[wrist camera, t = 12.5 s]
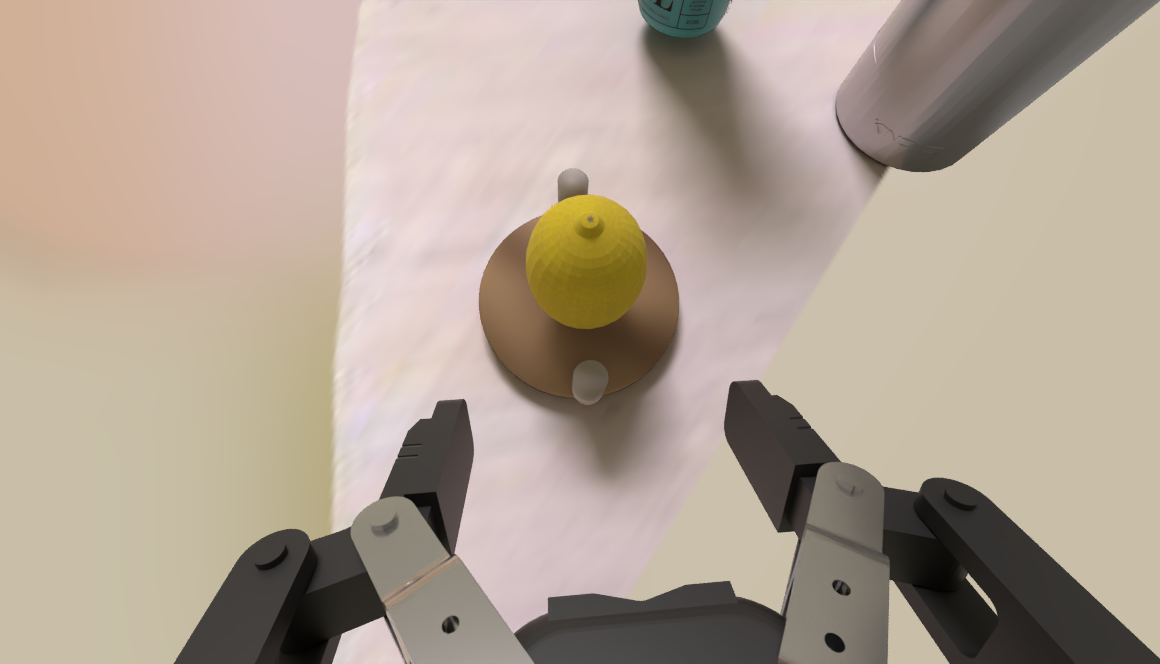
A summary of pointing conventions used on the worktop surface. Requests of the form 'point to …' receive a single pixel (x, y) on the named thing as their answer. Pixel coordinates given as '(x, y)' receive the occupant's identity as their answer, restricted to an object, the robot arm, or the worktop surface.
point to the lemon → (586, 261)
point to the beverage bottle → (683, 16)
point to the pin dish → (563, 352)
